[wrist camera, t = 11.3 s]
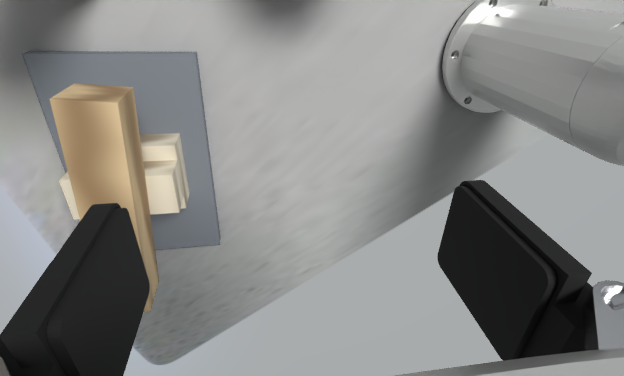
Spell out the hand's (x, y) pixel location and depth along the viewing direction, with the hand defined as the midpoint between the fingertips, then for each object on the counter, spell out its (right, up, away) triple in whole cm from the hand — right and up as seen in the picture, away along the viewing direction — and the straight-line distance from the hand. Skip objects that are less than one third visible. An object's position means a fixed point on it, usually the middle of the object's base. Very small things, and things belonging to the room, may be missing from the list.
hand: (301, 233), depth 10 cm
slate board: (-18, +4, +27) cm, 33 cm away
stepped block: (-17, +4, +26) cm, 32 cm away
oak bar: (-16, 0, +21) cm, 27 cm away
